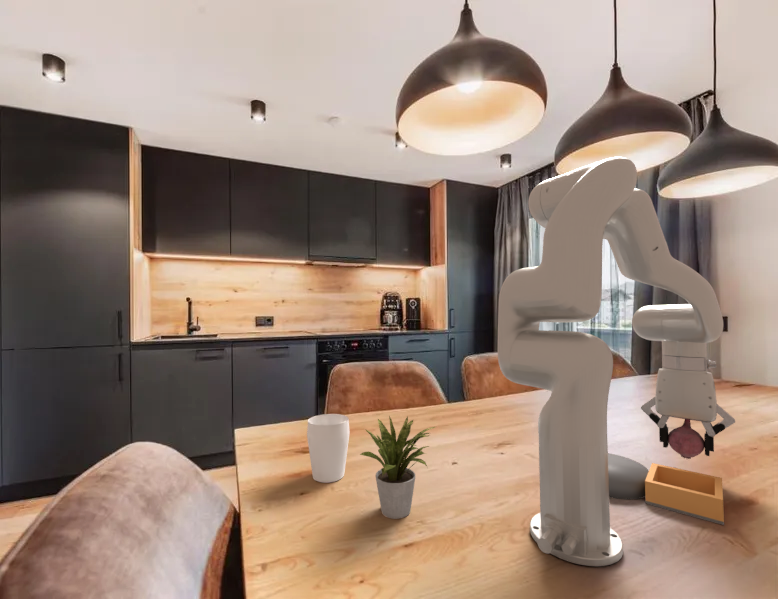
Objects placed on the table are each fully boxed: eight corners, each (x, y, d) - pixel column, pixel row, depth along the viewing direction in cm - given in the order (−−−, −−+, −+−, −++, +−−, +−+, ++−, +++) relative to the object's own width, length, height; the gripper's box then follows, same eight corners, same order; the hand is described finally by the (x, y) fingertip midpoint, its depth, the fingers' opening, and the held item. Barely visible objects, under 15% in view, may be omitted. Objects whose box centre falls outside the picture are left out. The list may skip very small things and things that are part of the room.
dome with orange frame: (724, 529, 58) (723, 504, 59) (560, 483, 75) (560, 463, 75) (722, 496, 69) (721, 474, 69) (579, 462, 85) (578, 444, 85)
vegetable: (709, 467, 74) (708, 417, 74) (670, 461, 77) (669, 412, 77) (701, 458, 79) (700, 410, 80) (665, 452, 82) (665, 407, 83)
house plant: (436, 544, 56) (434, 434, 56) (347, 535, 58) (346, 429, 58) (440, 497, 70) (438, 409, 70) (368, 491, 72) (367, 407, 73)
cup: (337, 488, 73) (337, 427, 74) (298, 482, 76) (298, 423, 77) (356, 470, 82) (356, 415, 82) (321, 464, 85) (321, 412, 85)
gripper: (738, 367, 76) (741, 455, 75) (638, 359, 88) (639, 436, 87) (740, 370, 71) (743, 466, 70) (633, 362, 82) (634, 444, 81)
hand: (685, 449), depth 78 cm, fingers closed on vegetable, 6 cm apart
